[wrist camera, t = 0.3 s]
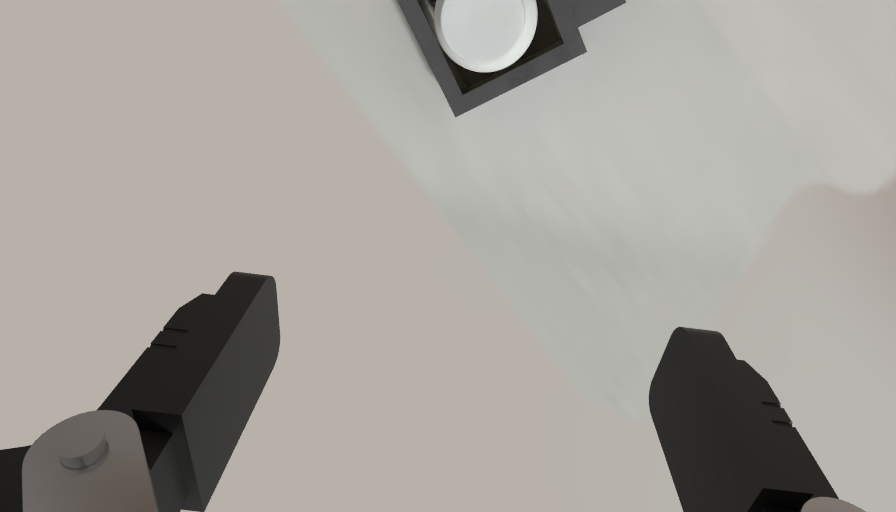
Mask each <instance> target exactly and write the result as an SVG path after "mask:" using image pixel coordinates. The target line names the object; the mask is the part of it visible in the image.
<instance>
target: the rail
mask: <svg viewBox="0 0 896 512" xmlns="http://www.w3.org/2000/svg"><path fill="white" fill-rule="evenodd" d="M398 1H399V3H400V6H401V8H402V10H403V12H404V14H405V16H406V18H407V20H408V22H409V24H410V26H411V28H412V30H413V32H414V34H415V36H416V38H417V40H418V42H419V44H420V46H421V48H422V50H423V52H424V54H425V56H426V58H427V60H428V62H429V64H430V66H431V68H432V70H433V73H434V75H435V77H436V79H437V81H438V83H439V85H440V87H441V89H442V91H443V93H444V95H445V97H446V99H447V101H448V103H449V105H450V107H451V109H452V111H453V113H454V115H455V117H457V116H459V115H461V114H463V113H465V112H467V111H469V110H471V109H473V108H475V107H477V106H479V105H481V104H483V103H485V102H487V101H489V100H491V99H493V98H495V97H497V96H499V95H501V94H503V93H505V92H507V91H509V90H511V89H513V88H515V87H517V86H519V85H521V84H523V83H525V82H527V81H529V80H531V79H533V78H535V77H537V76H539V75H541V74H543V73H545V72H547V71H549V70H551V69H553V68H555V67H557V66H559V65H561V64H563V63H565V62H567V61H569V60H571V59H573V58H575V57H577V56H579V55H582V54H584V53H586V52H587V51H586V48H585V46H584V43H583V40H582V38H581V35H580V33H579V30H578V27H579V26H581V25H583V24H585V23H587V22H589V21H591V20H593V19H595V18H597V17H599V16H601V15H603V14H605V13H607V12H609V11H611V10H613V9H614V8H616V7H618V6H620V5H622V4H624V3H626V1H625V0H544V1H545V3H546V6H547V8H548V11H549V13H550V16H551V18H552V21H553V23H554V26H555V29H556V31H557V34H558V36H559V39H560V40H559V41H557V42H555V43H553V44H551V45H549V46H547V47H545V48H543V49H541V50H539V51H537V52H536V53H534V54H532V55H530V56H528V57H526V58H524V59H522V60H520V61H518V62H516V63H514V64H512V65H510V66H508V67H506V68H504V69H502V70H500V71H498V72H496V73H495V74H493V75H491V76H489V77H487V78H485V79H483V80H481V81H479V82H477V83H475V84H473V85H471V86H469V87H467V88H466V86H465V84H464V82H463V80H462V77H461V75H460V73H459V71H458V69H457V67H456V65H455V63H454V61H453V60H452V59H451V58H450V57H449V56H448V55H447V54H446V52H445V51H444V50H443V48H442V46H441V44H440V42H439V40H438V37H437V34H436V30H435V24H434V19H433V16H432V14H431V12H430V10H429V8H428V6H427V4H426V2H425V0H398Z"/></svg>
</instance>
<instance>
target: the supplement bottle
mask: <svg viewBox="0 0 896 512" xmlns="http://www.w3.org/2000/svg"><path fill="white" fill-rule="evenodd" d="M537 16H538V12H537V4H536V0H437V1H436V5H435V11H434V24H435V30H436V34H437V37H438V40H439V42H440V44H441V46H442V48H443V50H444V51H445V52H446V54H447V55H448V56H449V57H450V58H451V59H452V60H453V61H454V62H455V63H457V64H458V65H460V66H462V67H463V68H466V69H468V70H471V71H475V72H494V71H498V70H501V69H504V68H506V67H508V66H509V65H511V64H513V63H514V62H515V61H517V60H518V59H519V58H520V57H521V56H522V55H523V54H524V52H525V51H526V50H527V48H528V47H529V45H530V43H531V41H532V39H533V37H534V34H535V30H536V26H537Z"/></svg>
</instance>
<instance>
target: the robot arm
mask: <svg viewBox="0 0 896 512" xmlns="http://www.w3.org/2000/svg"><path fill="white" fill-rule="evenodd" d="M279 345H280V329H279V317H278V304H277V293H276V283H275V280H274V278H273V277H272V276H266V275H258V274H250V273H242V272H233V273H231V274H230V275H229V277H228V278H227V279H226V281H225V282H224V283H223V285H222V286H221V287H220V289H219V290H218V292H217V293H216V294H215V295H210V294H201V295H199V296H198V297H196V298H194V299H193V300H191V301H190V302H188V303H187V304H185V305H183V306H182V307H180V308H179V309H178V310H177V311H176V312H175V314H174V315H173V316H172V318H171V319H170V320H169V321H168V322H167V324H166V325H165V326H164V329H163V331H160V332H159V334H158V335H157V336H156V337H155V339H154V340H153V341H152V342H151V346H150V348H148V347H147V349H146V350H145V351H144V352H143V354H142V355H141V356H140V357H139V359H138V360H137V361H136V362H135V364H134V365H133V366H132V367H131V369H130V370H129V371H128V372H127V374H126V375H125V376H124V377H123V378H122V380H121V381H120V382H119V383H118V385H117V386H116V387H115V389H114V390H113V391H112V392H111V393H110V395H109V396H108V397H107V399H106V400H105V401H104V402H103V403H102V405H101V406H100V407H99V408H98V409H97V410H96V411H91V412H86V413H82V414H78V415H76V416H73V417H70V418H68V419H66V420H64V421H62V422H60V423H58V424H56V425H55V426H53V427H51V428H50V429H49V430H47V431H46V432H45V433H43V434H42V435H41V436H40V437H39V438H38V439H37V440H36V441H35V442H34V443H33V445H30V446H25V447H18V448H11V449H4V450H0V512H180V510H181V509H182V510H191V511H199V512H204V511H205V509H206V506H207V505H208V503H209V500H210V498H211V496H212V494H213V492H214V490H215V488H216V486H217V484H218V482H219V480H220V478H221V476H222V474H223V471H224V469H225V467H226V465H227V463H228V461H229V459H230V457H231V455H232V453H233V451H234V449H235V446H236V445H237V442H238V440H239V438H240V436H241V434H242V432H243V430H244V428H245V426H246V424H247V422H248V420H249V418H250V415H251V413H252V411H253V409H254V407H255V405H256V403H257V401H258V399H259V397H260V395H261V393H262V390H263V388H264V386H265V384H266V382H267V380H268V378H269V376H270V374H271V372H272V370H273V367H274V365H275V362H276V360H277V356H278V352H279ZM780 404H781V403H780V402H779V400H778V398H777V397H776V395H775V394H774V392H773V391H772V389H771V387H770V385H769V384H768V382H767V381H766V380H765V379H764V378H763V377H762V376H761V375H760V374H759V373H757V372H756V371H755V370H754V369H753V368H752V367H751V366H750V365H749V364H748V363H747V362H745V361H743V360H737V359H736V358H735V356H734V354H733V352H732V351H731V349H730V347H729V345H728V344H727V342H726V340H725V338H724V337H723V335H722V334H721V333H719V332H717V331H709V330H701V329H693V328H684V327H678V328H676V329H675V330H674V331H673V333H672V335H671V337H670V339H669V342H668V344H667V347H666V349H665V351H664V354H663V356H662V358H661V361H660V363H659V365H658V368H657V370H656V372H655V375H654V377H653V380H652V382H651V386H650V391H649V407H650V412H651V416H652V419H653V422H654V425H655V428H656V431H657V434H658V437H659V440H660V443H661V446H662V449H663V452H664V455H665V458H666V461H667V464H668V466H669V470H670V473H671V476H672V478H673V482H674V485H675V488H676V491H677V494H678V497H679V500H680V502H681V505H682V509H683V511H684V512H865V511H864V510H862V509H860V508H858V507H856V506H855V505H853V504H850V503H848V502H845V501H843V500H839V498H838V497H837V495H836V493H835V492H834V490H833V488H832V487H831V485H830V484H829V482H828V480H827V479H826V477H825V475H824V474H823V472H822V470H821V469H820V467H819V466H818V464H817V462H816V461H815V459H814V457H813V456H812V454H811V452H810V451H809V449H808V448H807V446H806V444H805V443H804V441H803V440H802V438H801V436H800V434H799V433H798V431H797V430H796V428H795V427H792V422H791V420H790V418H789V417H788V415H787V413H786V411H785V410H784V408H781V407H780Z"/></svg>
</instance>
